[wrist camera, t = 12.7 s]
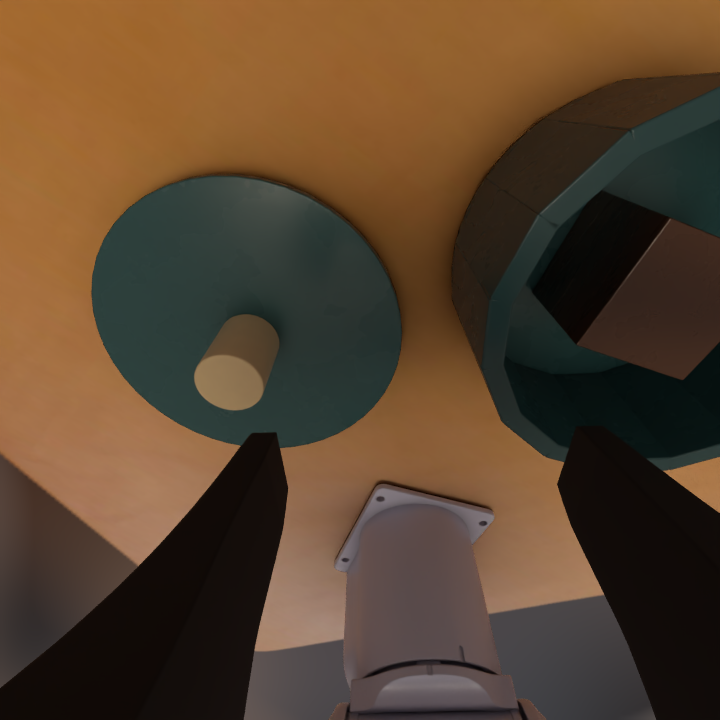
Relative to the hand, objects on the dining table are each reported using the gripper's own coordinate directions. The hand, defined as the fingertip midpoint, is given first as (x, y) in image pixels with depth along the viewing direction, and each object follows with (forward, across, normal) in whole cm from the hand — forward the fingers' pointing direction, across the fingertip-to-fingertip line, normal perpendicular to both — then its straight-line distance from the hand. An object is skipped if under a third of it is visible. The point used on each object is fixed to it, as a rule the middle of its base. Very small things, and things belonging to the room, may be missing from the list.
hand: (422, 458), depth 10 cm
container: (+9, -8, -2) cm, 13 cm away
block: (+9, -8, -2) cm, 12 cm away
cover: (+9, +7, +1) cm, 11 cm away
